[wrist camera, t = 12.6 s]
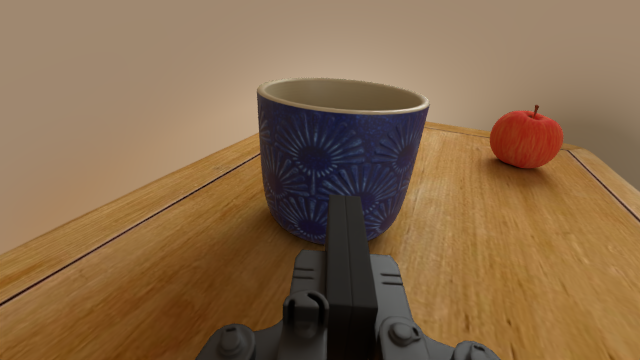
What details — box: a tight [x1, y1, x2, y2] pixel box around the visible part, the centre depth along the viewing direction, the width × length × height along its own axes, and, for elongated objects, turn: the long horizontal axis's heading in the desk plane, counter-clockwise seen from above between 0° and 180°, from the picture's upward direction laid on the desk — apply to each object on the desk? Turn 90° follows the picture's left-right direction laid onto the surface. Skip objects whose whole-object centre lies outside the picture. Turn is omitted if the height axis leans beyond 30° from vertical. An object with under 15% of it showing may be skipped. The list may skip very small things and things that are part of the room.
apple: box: [490, 105, 563, 168], centre depth 41 cm, size 8×8×8 cm
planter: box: [257, 78, 430, 245], centre depth 25 cm, size 12×12×11 cm
